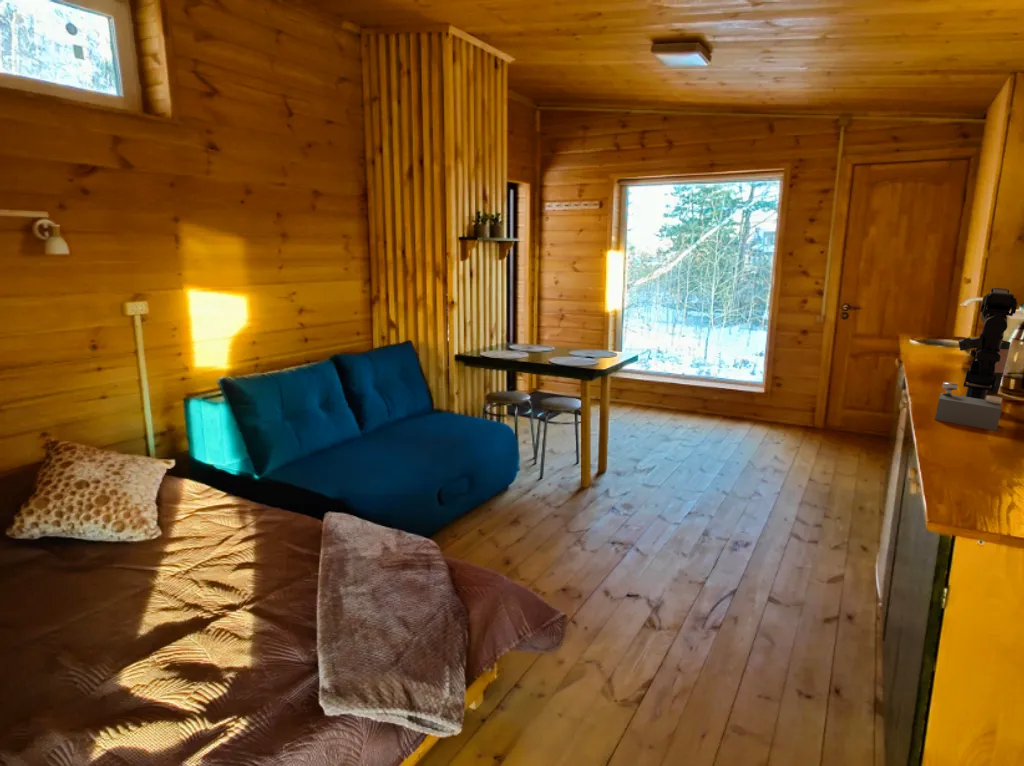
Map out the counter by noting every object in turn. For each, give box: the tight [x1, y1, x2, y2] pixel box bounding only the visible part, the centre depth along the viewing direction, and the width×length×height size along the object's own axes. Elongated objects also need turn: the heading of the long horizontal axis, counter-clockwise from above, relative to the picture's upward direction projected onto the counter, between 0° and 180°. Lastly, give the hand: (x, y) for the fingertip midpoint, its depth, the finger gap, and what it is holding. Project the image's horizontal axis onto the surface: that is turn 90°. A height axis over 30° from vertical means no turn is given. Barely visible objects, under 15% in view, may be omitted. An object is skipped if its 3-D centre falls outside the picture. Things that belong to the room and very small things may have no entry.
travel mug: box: [986, 340, 1012, 395], centre depth 244 cm, size 8×8×20 cm
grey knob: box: [941, 381, 959, 396], centre depth 207 cm, size 4×4×4 cm
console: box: [934, 392, 1003, 432], centre depth 203 cm, size 10×16×7 cm, turn 55°
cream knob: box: [985, 395, 1003, 405], centre depth 201 cm, size 4×4×4 cm
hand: (981, 377), depth 213 cm, fingers closed
